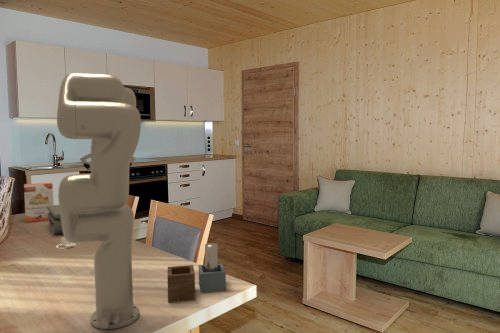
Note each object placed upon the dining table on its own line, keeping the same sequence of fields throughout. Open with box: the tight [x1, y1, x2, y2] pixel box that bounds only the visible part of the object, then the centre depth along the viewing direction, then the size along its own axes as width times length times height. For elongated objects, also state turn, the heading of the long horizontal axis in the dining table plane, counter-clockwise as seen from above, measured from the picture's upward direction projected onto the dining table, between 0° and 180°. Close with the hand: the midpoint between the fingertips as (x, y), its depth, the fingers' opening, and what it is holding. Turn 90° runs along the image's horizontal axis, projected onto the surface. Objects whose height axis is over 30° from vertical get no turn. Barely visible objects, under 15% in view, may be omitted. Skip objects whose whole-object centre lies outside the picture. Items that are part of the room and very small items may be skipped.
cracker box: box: [23, 182, 54, 223], centre depth 213 cm, size 14×6×21 cm, turn 119°
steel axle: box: [204, 242, 219, 272], centre depth 124 cm, size 4×4×14 cm
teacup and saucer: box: [55, 236, 77, 250], centre depth 167 cm, size 9×8×4 cm
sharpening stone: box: [47, 204, 63, 235], centre depth 192 cm, size 25×8×11 cm, turn 35°
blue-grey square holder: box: [198, 263, 227, 293], centre depth 124 cm, size 8×8×6 cm
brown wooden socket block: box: [167, 264, 196, 303], centre depth 117 cm, size 8×8×8 cm
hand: (108, 182), depth 129 cm, fingers open, 9 cm apart
